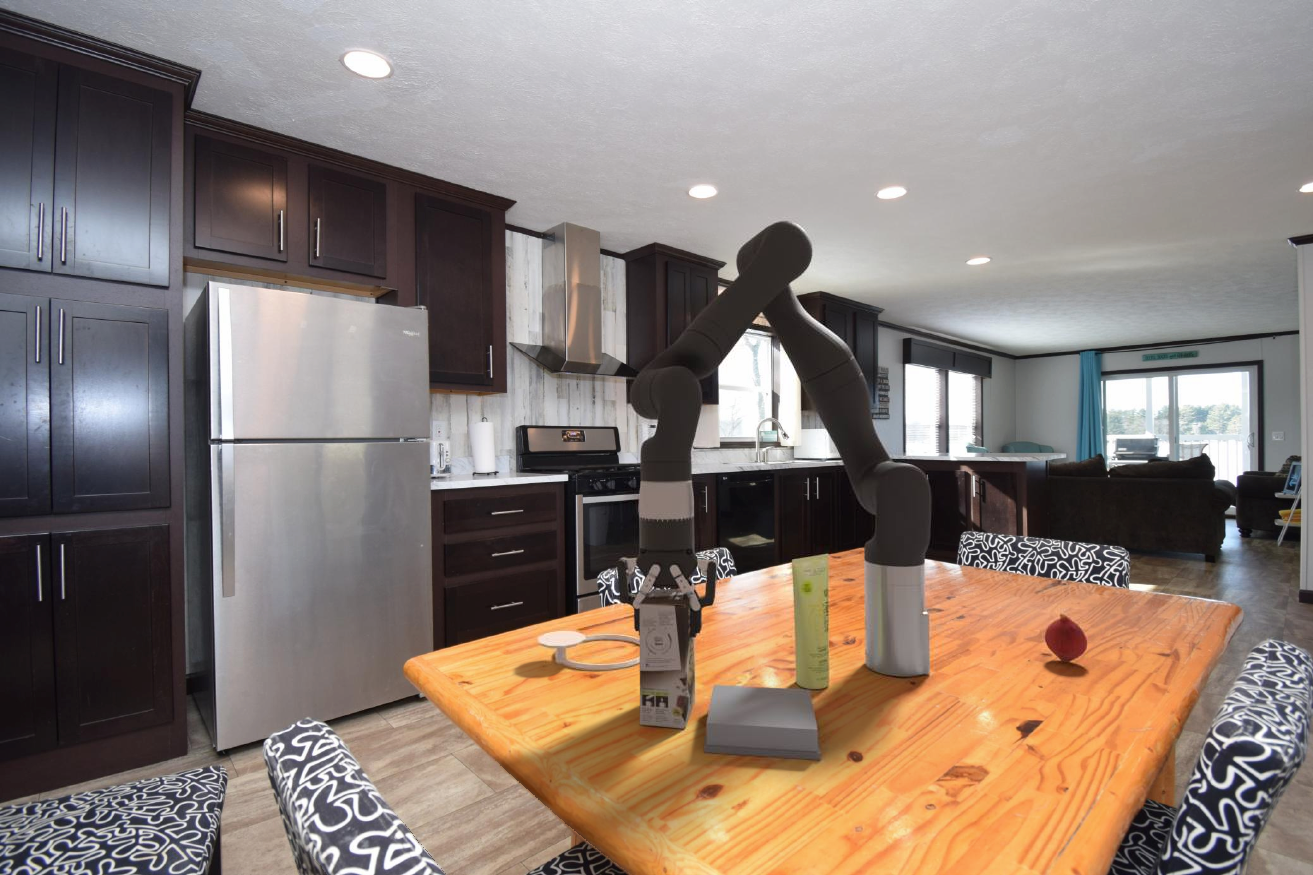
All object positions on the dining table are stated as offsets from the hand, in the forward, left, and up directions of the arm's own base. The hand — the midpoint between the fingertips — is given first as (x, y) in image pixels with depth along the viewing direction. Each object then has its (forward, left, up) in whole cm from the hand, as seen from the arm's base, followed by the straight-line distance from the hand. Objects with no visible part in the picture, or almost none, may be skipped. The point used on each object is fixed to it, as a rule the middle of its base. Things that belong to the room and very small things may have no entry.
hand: (667, 634), depth 88 cm
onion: (-62, -28, -11) cm, 69 cm away
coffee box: (0, 0, -11) cm, 11 cm away
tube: (-20, -13, -11) cm, 26 cm away
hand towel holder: (+16, -22, -11) cm, 29 cm away
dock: (-13, +4, -11) cm, 17 cm away
